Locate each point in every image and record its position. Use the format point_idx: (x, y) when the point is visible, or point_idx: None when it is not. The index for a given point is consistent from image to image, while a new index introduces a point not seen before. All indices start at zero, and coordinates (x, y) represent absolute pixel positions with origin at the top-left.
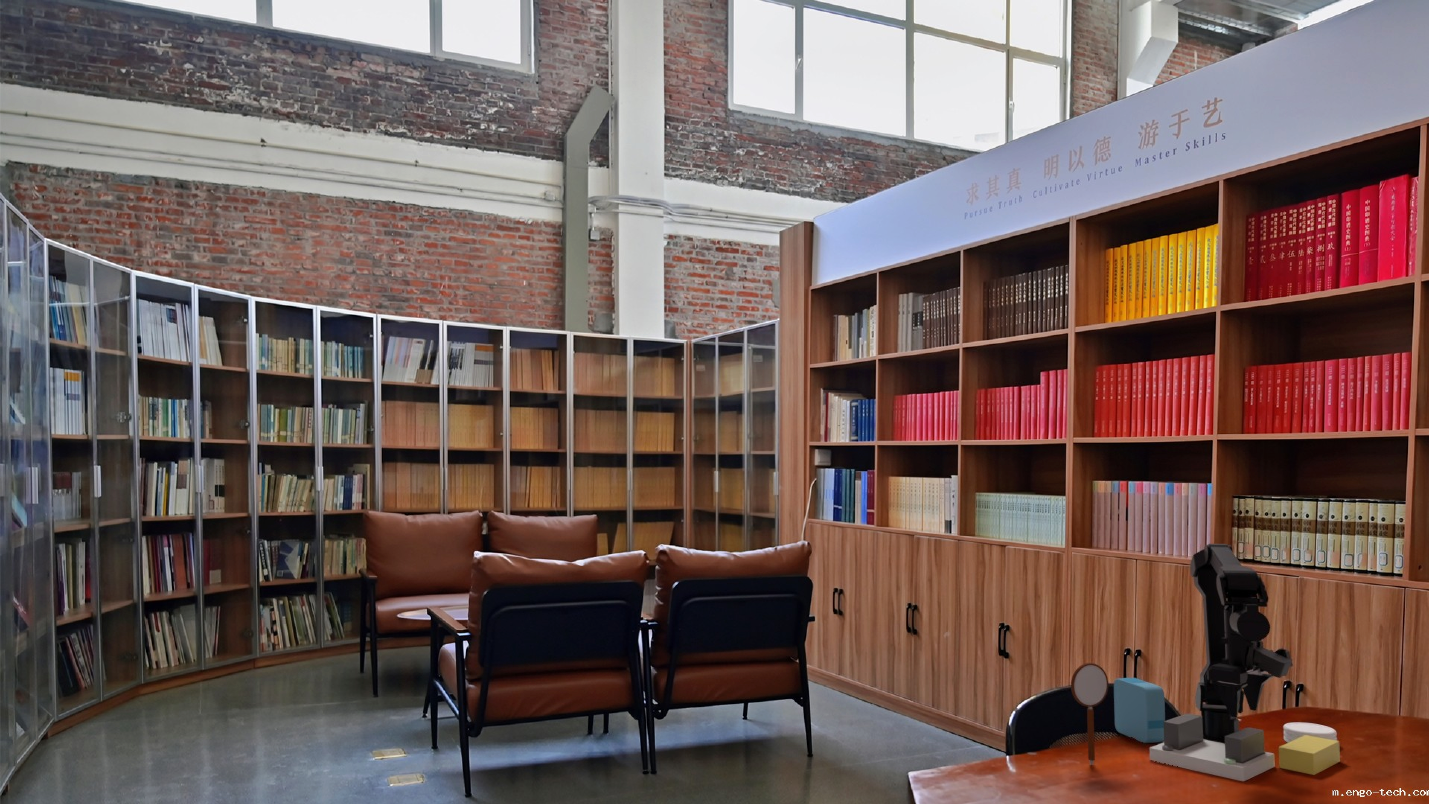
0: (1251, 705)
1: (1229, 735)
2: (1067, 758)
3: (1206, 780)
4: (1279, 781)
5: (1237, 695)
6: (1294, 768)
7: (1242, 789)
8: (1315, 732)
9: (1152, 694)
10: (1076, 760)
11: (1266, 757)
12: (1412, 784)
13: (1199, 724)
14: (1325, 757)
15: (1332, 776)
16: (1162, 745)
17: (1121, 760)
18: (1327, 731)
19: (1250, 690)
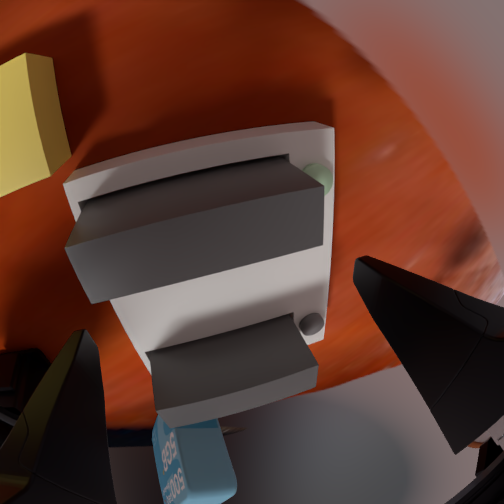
0: (93, 365)
1: (293, 248)
2: (382, 350)
3: (367, 180)
4: (222, 61)
5: (495, 305)
6: (59, 112)
7: (373, 94)
8: None
9: (220, 479)
10: (384, 341)
11: (131, 162)
12: None
13: (172, 387)
14: None
15: (22, 32)
16: None
17: (345, 331)
18: None
19: (85, 455)
